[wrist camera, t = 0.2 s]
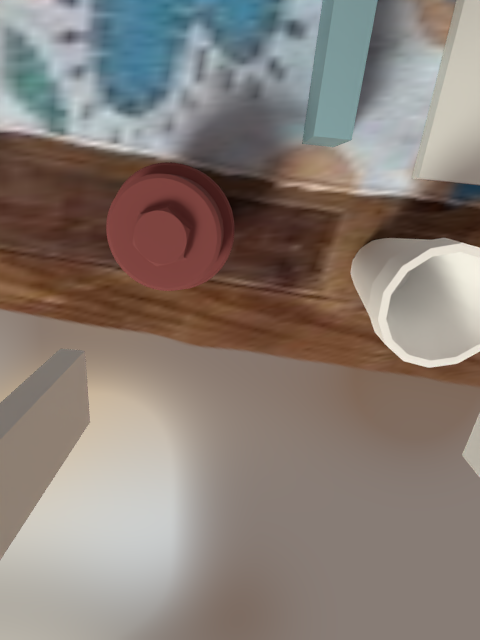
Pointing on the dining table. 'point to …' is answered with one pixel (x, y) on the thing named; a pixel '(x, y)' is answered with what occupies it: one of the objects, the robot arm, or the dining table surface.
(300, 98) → the dining table surface
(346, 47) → the link
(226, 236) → the mechanical component
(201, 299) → the dining table surface
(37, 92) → the dining table surface
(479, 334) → the foam cup
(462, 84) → the board
